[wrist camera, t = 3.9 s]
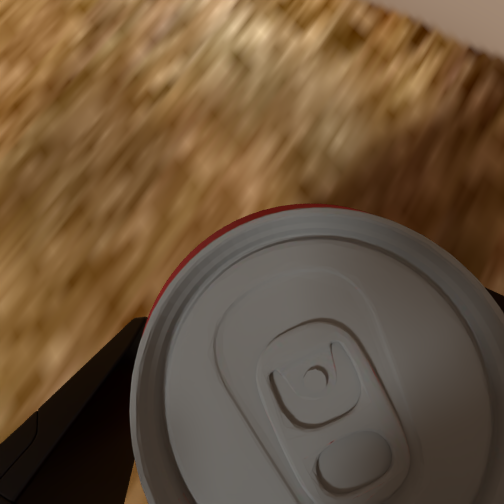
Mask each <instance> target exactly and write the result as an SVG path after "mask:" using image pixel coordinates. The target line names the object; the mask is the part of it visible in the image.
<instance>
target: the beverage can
mask: <svg viewBox="0 0 504 504" xmlns="http://www.w3.org/2000/svg"><path fill="white" fill-rule="evenodd" d="M129 412H130V429H131V439H132V448H133V453H134V457H135V462H136V466H137V470H138V474H139V478H140V481H141V485H142V488H143V490H144V493H145V496H146V498H147V501H148V503H149V504H504V313H503V311H502V310H501V308H500V307H499V306H498V304H497V303H496V302H495V300H494V299H493V297H492V296H491V295H490V294H489V292H488V291H487V290H486V289H485V287H484V286H483V285H482V284H481V283H480V281H479V280H478V279H477V278H476V277H475V276H474V275H473V274H472V273H471V272H470V271H469V270H468V269H467V268H466V267H464V266H463V265H462V264H461V263H460V262H459V261H458V260H457V259H456V258H455V257H453V256H452V255H451V254H450V253H448V252H447V251H446V250H444V249H443V248H441V247H440V246H439V245H437V244H435V243H434V242H432V241H431V240H429V239H428V238H426V237H425V236H423V235H421V234H419V233H417V232H415V231H413V230H411V229H409V228H407V227H405V226H403V225H401V224H399V223H396V222H394V221H392V220H389V219H386V218H382V217H379V216H376V215H373V214H370V213H367V212H364V211H360V210H356V209H352V208H348V207H343V206H337V205H328V204H294V205H286V206H280V207H275V208H270V209H266V210H262V211H259V212H256V213H253V214H250V215H248V216H245V217H243V218H241V219H238V220H236V221H234V222H232V223H231V224H229V225H227V226H225V227H223V228H222V229H220V230H218V231H217V232H215V233H214V234H212V235H211V236H210V237H208V238H207V239H206V240H204V241H203V242H202V243H200V244H199V245H198V246H197V247H196V248H195V249H194V250H193V251H192V252H190V254H189V255H188V256H187V257H186V258H185V259H184V260H183V261H182V262H181V263H180V264H179V266H178V267H177V268H176V269H175V271H174V272H173V273H172V274H171V276H170V277H169V279H168V280H167V282H166V283H165V285H164V286H163V288H162V290H161V291H160V293H159V295H158V297H157V299H156V300H155V303H154V305H153V307H152V309H151V311H150V314H149V316H148V319H147V322H146V324H145V327H144V331H143V334H142V338H141V341H140V344H139V348H138V352H137V356H136V360H135V364H134V369H133V374H132V382H131V392H130V411H129Z"/></svg>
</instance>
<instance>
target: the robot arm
mask: <svg viewBox="0 0 504 504" xmlns="http://www.w3.org/2000/svg"><path fill="white" fill-rule="evenodd" d="M485 289H486V290H487V291H488V292H489V294H490V295H491V296H492V297H493V299H494V300H495V302H496V303H497V304H498V306H499V307H500V308H501V310H502V311H503V313H504V296H503V295H501V294H498V293H496V292H494V291H492V290H490V289H487V288H485ZM147 319H148V317H139V318H134V319H133V320H132V321H130V322H129V323H128V324H127V325H126V326H125V327H124V328H123V329H122V330H121V331H120V332H119V333H118V334H117V335H116V336H115V337H114V338H113V339H112V340H110V341H109V342H108V343H107V344H106V345H105V346H104V347H103V348H102V349H101V350H100V351H99V352H98V353H97V354H96V355H95V356H94V357H93V358H91V359H90V360H89V361H88V362H87V363H86V364H85V365H84V366H83V367H82V368H81V369H80V370H79V371H78V372H77V373H76V374H75V375H74V376H73V377H71V378H70V379H69V380H68V381H67V382H66V383H65V384H64V385H63V386H62V387H61V388H60V389H59V390H58V391H57V392H56V393H55V394H54V395H52V396H51V397H50V398H49V399H48V400H47V401H46V402H45V403H44V404H43V405H42V406H41V407H40V408H39V409H38V411H36V412H34V413H33V414H32V415H31V416H30V417H29V418H28V419H27V420H26V421H25V422H24V423H23V424H22V425H21V426H20V427H19V428H17V429H16V430H15V431H14V432H13V433H12V434H11V435H10V436H9V437H8V438H7V439H5V440H4V441H3V442H2V443H1V444H0V504H124V502H125V497H126V493H127V489H128V485H129V481H130V476H131V472H132V468H133V464H134V460H135V457H134V453H133V448H132V439H131V429H130V412H129V411H130V392H131V382H132V374H133V369H134V364H135V360H136V356H137V352H138V348H139V344H140V341H141V338H142V334H143V331H144V327H145V324H146V322H147Z"/></svg>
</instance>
